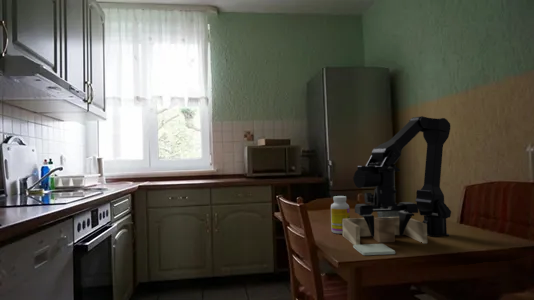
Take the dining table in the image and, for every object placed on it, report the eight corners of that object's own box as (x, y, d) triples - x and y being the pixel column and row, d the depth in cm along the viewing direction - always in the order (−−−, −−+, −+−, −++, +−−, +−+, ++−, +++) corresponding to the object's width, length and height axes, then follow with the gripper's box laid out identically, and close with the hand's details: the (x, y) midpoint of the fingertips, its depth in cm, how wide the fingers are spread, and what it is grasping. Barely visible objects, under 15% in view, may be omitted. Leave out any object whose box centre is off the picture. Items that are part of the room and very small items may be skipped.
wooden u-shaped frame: (406, 233, 128) (405, 216, 128) (427, 243, 114) (426, 223, 114) (342, 236, 126) (342, 218, 127) (356, 246, 112) (355, 226, 112)
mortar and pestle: (409, 228, 138) (408, 195, 138) (388, 230, 135) (387, 197, 135) (390, 223, 149) (389, 193, 149) (370, 225, 146) (369, 194, 146)
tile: (382, 246, 111) (382, 243, 111) (395, 254, 102) (395, 251, 102) (353, 247, 111) (353, 244, 111) (363, 255, 102) (363, 252, 102)
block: (388, 238, 122) (387, 217, 122) (394, 242, 117) (394, 219, 117) (373, 239, 121) (373, 217, 122) (379, 242, 116) (378, 220, 117)
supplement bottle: (350, 234, 129) (349, 197, 130) (331, 234, 131) (330, 197, 131) (349, 230, 136) (349, 195, 136) (331, 230, 137) (330, 195, 138)
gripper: (402, 183, 126) (403, 229, 126) (348, 185, 124) (350, 232, 124) (418, 186, 115) (420, 236, 115) (359, 188, 113) (361, 239, 113)
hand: (386, 235), depth 117 cm, fingers open, 9 cm apart
